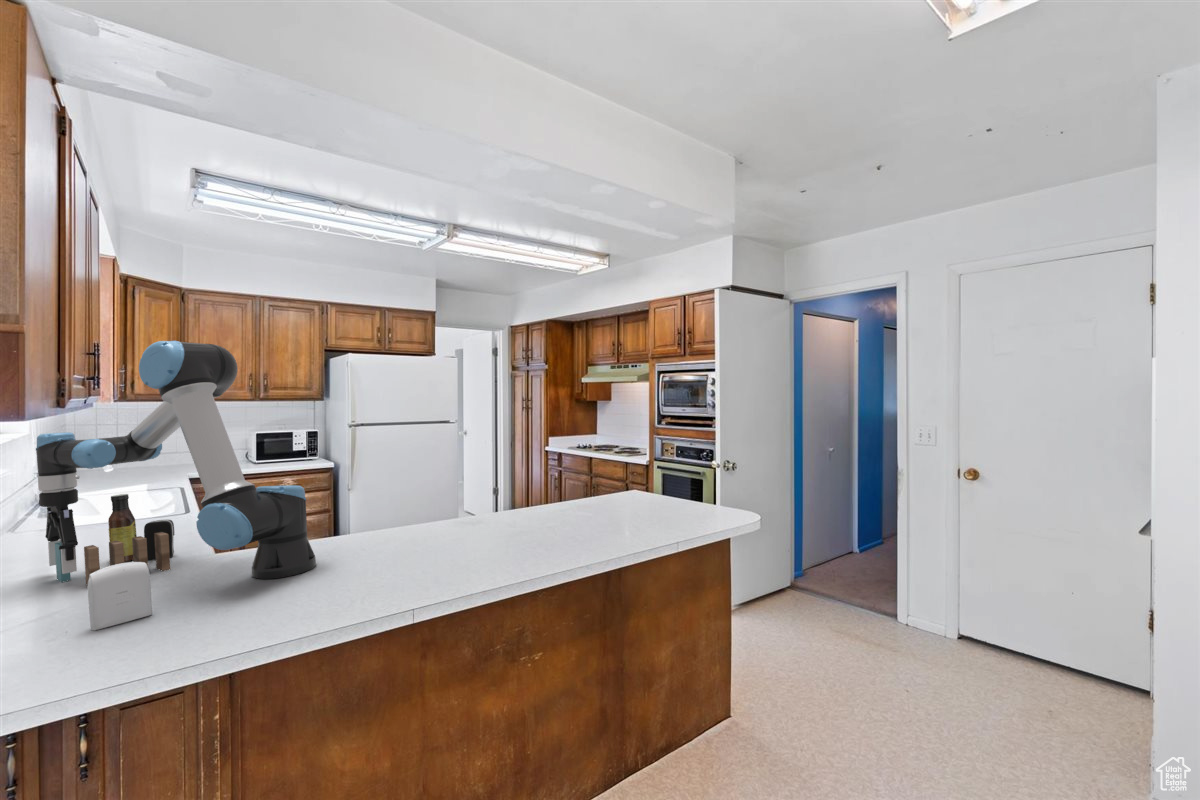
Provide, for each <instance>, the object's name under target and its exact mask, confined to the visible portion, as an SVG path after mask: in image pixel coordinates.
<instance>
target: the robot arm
mask: <svg viewBox="0 0 1200 800" xmlns="http://www.w3.org/2000/svg"><path fill="white" fill-rule="evenodd" d="M138 363H139V364H138V374H139V377H140V379H141V381H142V383H143V384H144V385H145V386H148V388H151V389H154V390H158V392H159V396H160V398H161V399H162V403H160V405H158V406H157V407H156V408H155V409H154V410H153V411H152V412H151V413H150V414H149V415H147V417H145V418H144V419H143V420H142V421H141V422H140V423H139V424H138V425H136V427H134V429H132V430H131V431H130V432H129V433H128V434H127V435H123V436H113V437H104V438H103V437H102V438H101V437H100V438H90V439H89V438H88V439H76V438H75V434H74V433H73V432H67V431H66V432H50V433H49V432H48V433H40V434H39V435H37V437H36V447H35V451H36V453H35V454H36V464H37V465H36V466H37V485H38V491H40V492H39V495H38V498H39V499H38V501H39V506H40V507H42V508H46V512H47V514H46V529H45V539H46V540H47V546H48V547H47V550H48V566H49V567H53V566H56V556H55V543H57V542H61V544H62V546H59V550H61V561H62V574H65V573H70V574H71V573H74V572H77V553H76V551H77V550H76V548H77V547H76V546H78V544H79V542H78V539H77V533H76V526H75V522H74V513H73V512H74V509H72V508H70V509H69V505H73V504H76V503H78V501H79V493H78V492H79V491H78V489H77V488H76V487H78V480H79V479H80V475H77V469H87V470H88V469H89V470H91V469H99V468H104V467H106V466H111V465H119V464H126V463H128V464H129V463H136V462H145V461H148V460H153V459H156V458H157V457H159V456H160V455H161V453H162V450H163V443H164V442H165V441H166V440H167V439H168V438H169V437H170V436H171V435H173V434H174V433H175V432H176V431H177V430H178V429H179V428H180V429H181V432H182V434H183V436H184V439H185V440H184V441H185V442H186V446H187V448H188V450H189V454H190V456H191V458H192V461H193V464H194V466H195V469H196V471H197V475H198V477H199V479H200V482H201V485H202V488H203V490H204V492H205V493H204V494H205V495H204V496H203V498H202V500H201V502H200V504H201V508H202V509H200V511H199V512H198V514H197V521H195V522H196V530H197V533H198V534H199V537H200V538H201V539H202V540H203V542H204V543H205V544H206V545H208V546H209V547H211V548H214V549H216V550H220V551H228V550H233V549H237V548H242V547H244V546H247V545H249V544H252V543H255V542H257V549H256V552H255V556H254V559H253V562H252V565H251V576H252V577H253V578H255V579H260V580H262V579H263V580H269V579H270V580H271V579H273V580H274V579H281V578H286V577H292V576H295V575H299V574H302V573H306V572H308V571H310V570H312V569H314V568H315V567H316V566H317V564H316V560H317V559H316V555H315V552H314V550H313V547H312V546H311V543H310V541H309V539H308V527H307V526H308V523H307V498H306V491H305V488H304V487H303V486H301V485H291V484H290V485H263V486H262V485H261V486H257V487H256V485H255V484H254V483H252V482H250V481H247V480H246V479H245V476H244V474H243V472H242V469H241V466H240V463H239V461H238V457H237V455H236V453H235V450H234V448H233V445H232V442H231V440H230V437H229V435H228V434H229V433H228V431H227V430H226V427H225V424H224V422H223V419H222V416H221V413H220V411H219V409H218V406H217V403H216V401H215V398H219V397H221V396H222V395H223V394H224V393H225V392H227V390H229V389H230V387H232V385H233V384H234V382H235V380H236V379H237V375H238V363H237V360H236V358H235V357H234V355H233V354H232V353H231V352H230V350H227V349H226V348H225V347H223V346H220V345H217V344H213V343H200V342H199V343H197V342H186V341H185V342H184V341H178V340H159V341H156V342H153V343H152V344H150V345H149V346H147V347H146V349H145V350H144V351H143V353H142V355H141V358H140V359H139V362H138Z"/></svg>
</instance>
